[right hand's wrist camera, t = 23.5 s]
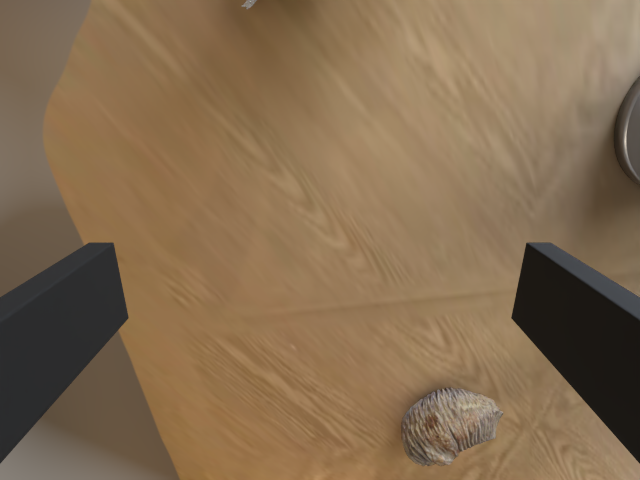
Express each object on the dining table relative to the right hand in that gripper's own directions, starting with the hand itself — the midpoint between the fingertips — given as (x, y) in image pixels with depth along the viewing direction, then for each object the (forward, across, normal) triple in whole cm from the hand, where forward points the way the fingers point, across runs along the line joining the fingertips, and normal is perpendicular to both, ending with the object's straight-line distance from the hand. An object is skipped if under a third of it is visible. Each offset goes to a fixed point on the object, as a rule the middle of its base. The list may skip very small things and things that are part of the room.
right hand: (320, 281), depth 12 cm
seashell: (+30, +17, -35) cm, 49 cm away
